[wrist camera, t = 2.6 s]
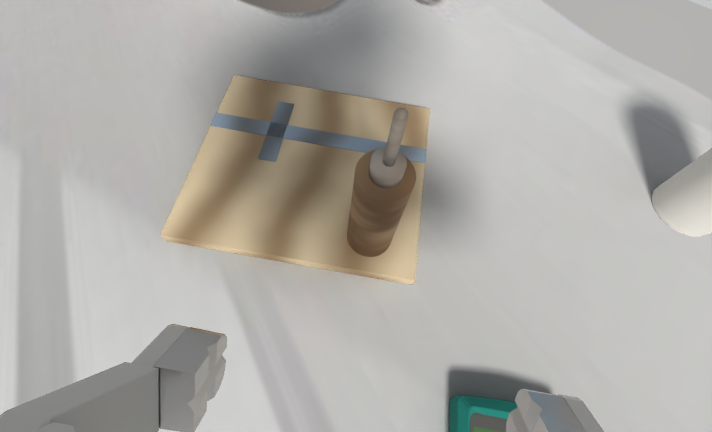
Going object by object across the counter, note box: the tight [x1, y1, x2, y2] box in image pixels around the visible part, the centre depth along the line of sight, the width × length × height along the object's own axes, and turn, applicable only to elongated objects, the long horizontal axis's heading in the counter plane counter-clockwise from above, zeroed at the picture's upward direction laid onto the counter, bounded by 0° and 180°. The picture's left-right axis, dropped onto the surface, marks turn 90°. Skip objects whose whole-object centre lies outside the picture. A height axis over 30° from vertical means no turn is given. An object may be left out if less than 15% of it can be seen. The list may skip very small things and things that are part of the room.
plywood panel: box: [161, 75, 430, 285], centre depth 32 cm, size 20×18×1 cm
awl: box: [347, 107, 416, 257], centre depth 22 cm, size 4×4×14 cm
